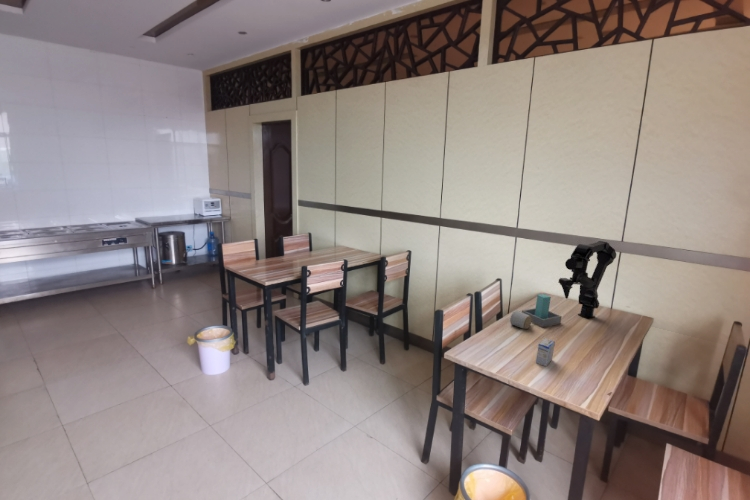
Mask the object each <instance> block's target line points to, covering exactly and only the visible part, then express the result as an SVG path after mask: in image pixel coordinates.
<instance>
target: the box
mask: <svg viewBox="0 0 750 500" xmlns="http://www.w3.org/2000/svg"><path fill="white" fill-rule="evenodd" d="M535 309H536V307H533V308H529V309H522V310H521V312H522V313H524V314H527V315H529V316H530V317H531V318H532V322H531V324H534V325H535V326H538V327H541V328H547V327H551V326H554V325H555V326H556V325H560V324H561V322H562V317H563V316H562V315H560V314H557V313H555V312H553V311H550V310H549V312H548V318H547V319H541V318H539V317H537V316H535Z"/></svg>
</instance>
